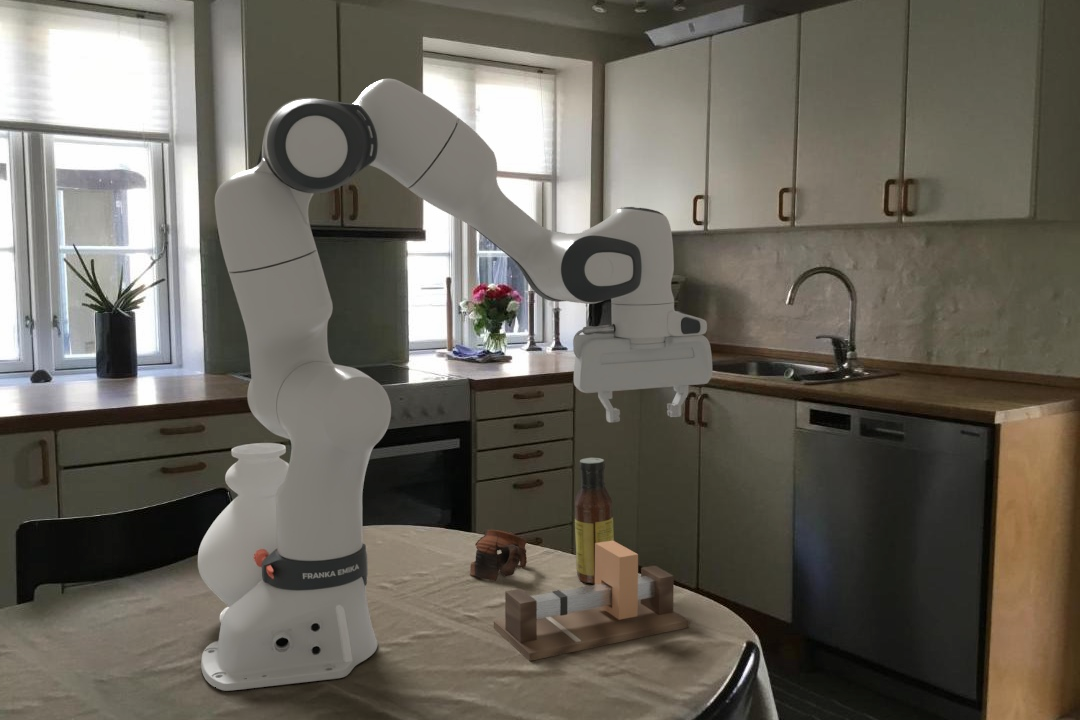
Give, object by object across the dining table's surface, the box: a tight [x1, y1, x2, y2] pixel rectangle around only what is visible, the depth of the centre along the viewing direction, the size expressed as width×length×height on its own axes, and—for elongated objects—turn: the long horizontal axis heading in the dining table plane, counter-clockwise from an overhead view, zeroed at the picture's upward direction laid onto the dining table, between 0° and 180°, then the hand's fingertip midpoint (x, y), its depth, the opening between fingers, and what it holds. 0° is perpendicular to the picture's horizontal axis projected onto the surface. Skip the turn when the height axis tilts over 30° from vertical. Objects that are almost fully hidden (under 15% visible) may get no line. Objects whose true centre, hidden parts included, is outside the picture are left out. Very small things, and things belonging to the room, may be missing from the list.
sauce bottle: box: [574, 457, 615, 585], centre depth 151 cm, size 7×6×20 cm
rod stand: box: [493, 564, 690, 662], centre depth 132 cm, size 25×12×6 cm, turn 116°
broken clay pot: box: [469, 529, 528, 582], centre depth 154 cm, size 12×10×8 cm
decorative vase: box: [197, 442, 289, 624], centre depth 135 cm, size 18×18×25 cm
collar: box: [594, 540, 639, 620], centre depth 133 cm, size 3×7×9 cm, turn 26°
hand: (643, 418), depth 134 cm, fingers open, 8 cm apart
